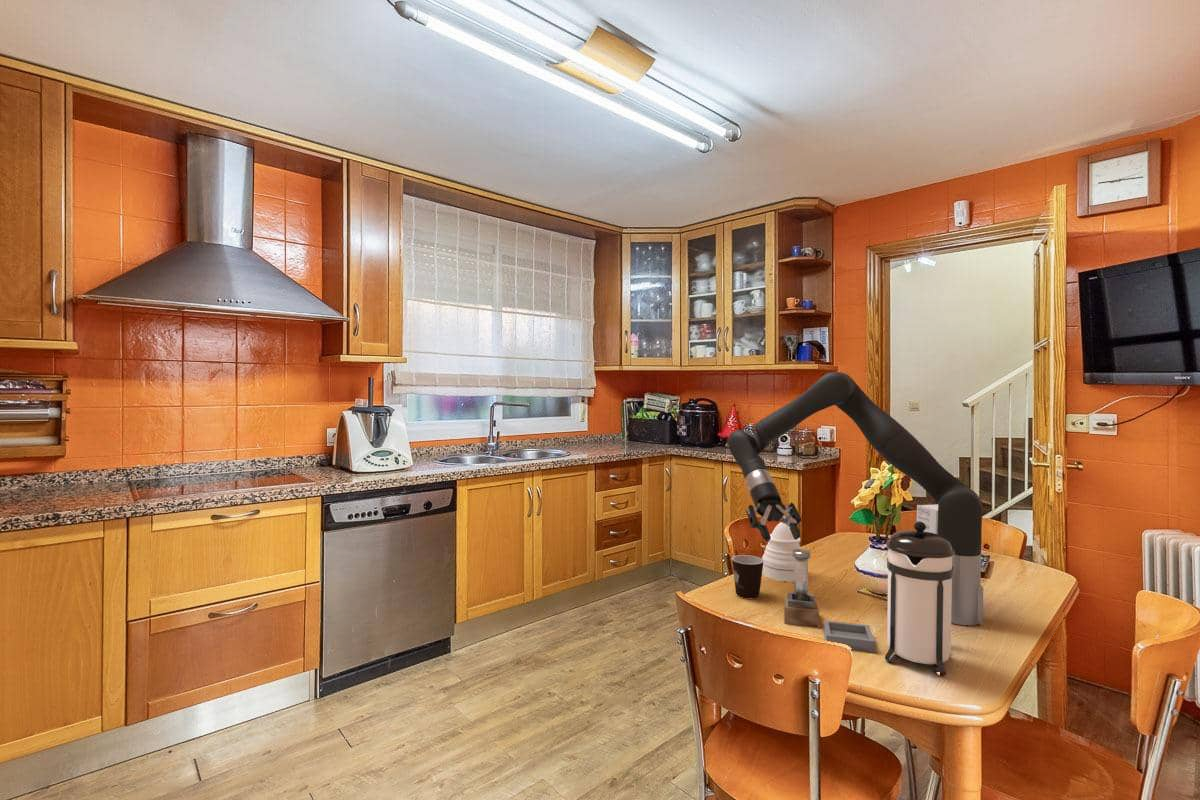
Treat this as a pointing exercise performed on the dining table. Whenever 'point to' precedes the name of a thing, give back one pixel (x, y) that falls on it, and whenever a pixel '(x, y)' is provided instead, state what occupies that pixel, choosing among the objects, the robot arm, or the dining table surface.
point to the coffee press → (919, 597)
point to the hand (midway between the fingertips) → (783, 539)
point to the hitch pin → (801, 574)
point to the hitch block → (801, 611)
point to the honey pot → (780, 554)
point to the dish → (850, 635)
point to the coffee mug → (747, 575)
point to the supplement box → (928, 517)
